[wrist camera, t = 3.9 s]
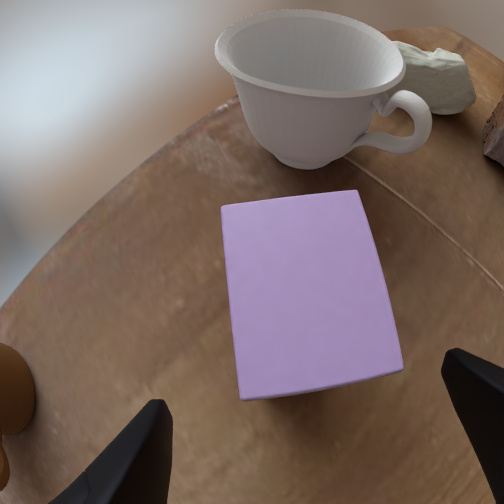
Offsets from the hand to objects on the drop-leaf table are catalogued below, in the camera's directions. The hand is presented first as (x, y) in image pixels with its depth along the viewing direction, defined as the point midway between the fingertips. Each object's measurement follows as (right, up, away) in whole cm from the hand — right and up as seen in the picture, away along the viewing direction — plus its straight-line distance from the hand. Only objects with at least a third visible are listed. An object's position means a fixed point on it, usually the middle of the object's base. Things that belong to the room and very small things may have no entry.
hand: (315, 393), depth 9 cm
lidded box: (0, -2, +10) cm, 10 cm away
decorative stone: (+17, +22, +20) cm, 34 cm away
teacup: (+3, +12, +16) cm, 21 cm away
